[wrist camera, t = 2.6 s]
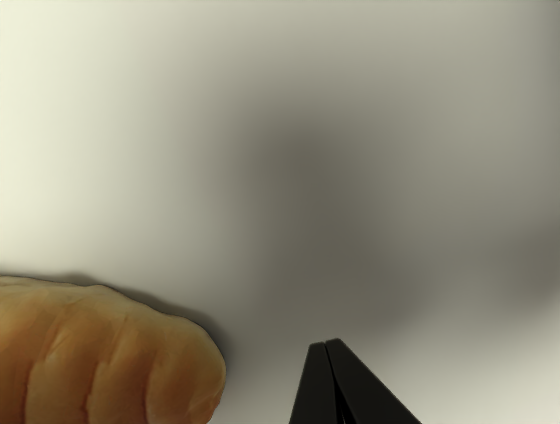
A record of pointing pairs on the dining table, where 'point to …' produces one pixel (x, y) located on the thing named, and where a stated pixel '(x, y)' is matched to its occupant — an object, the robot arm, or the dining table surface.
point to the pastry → (101, 359)
